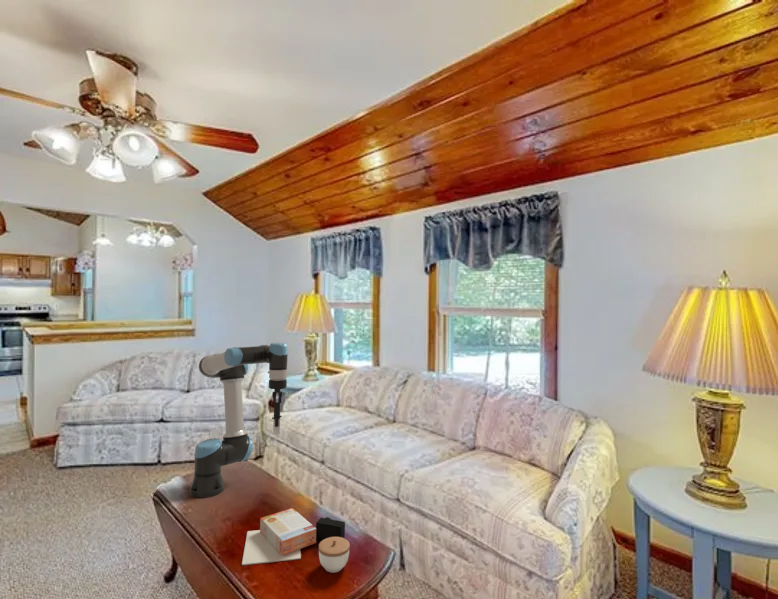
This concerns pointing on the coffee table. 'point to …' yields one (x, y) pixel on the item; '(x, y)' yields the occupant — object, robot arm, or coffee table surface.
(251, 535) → the mat
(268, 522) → the cracker box
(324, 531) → the digital camera
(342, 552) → the lidded jar
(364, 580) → the coffee table surface
